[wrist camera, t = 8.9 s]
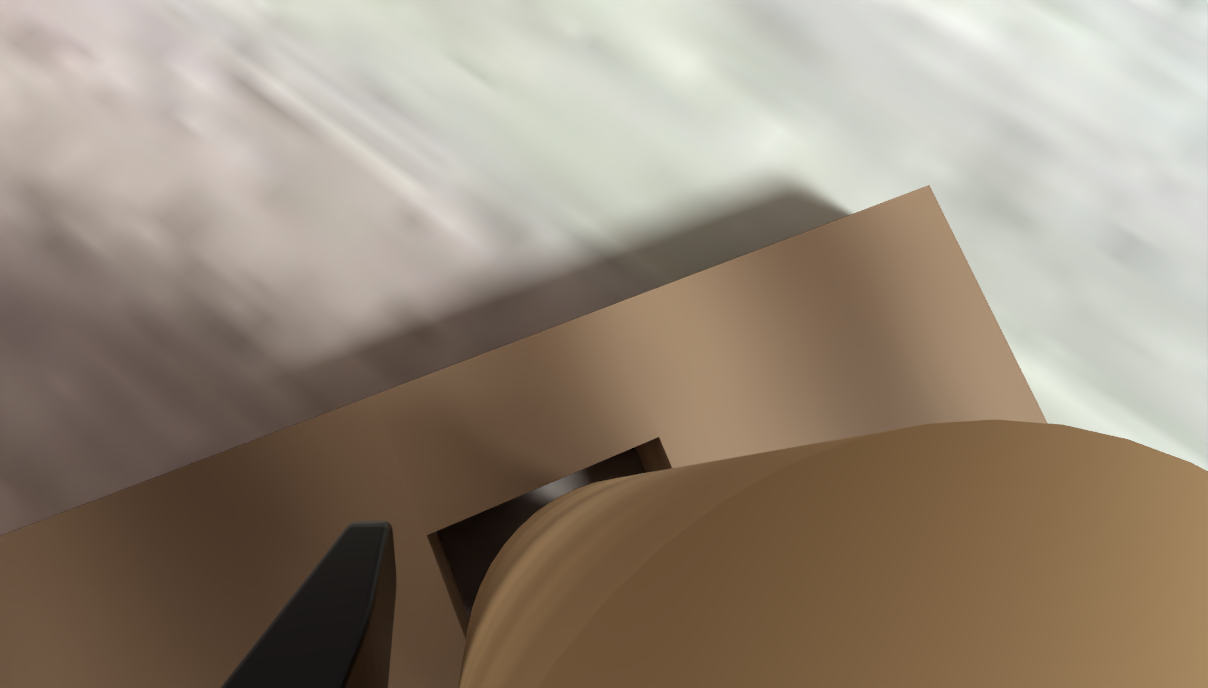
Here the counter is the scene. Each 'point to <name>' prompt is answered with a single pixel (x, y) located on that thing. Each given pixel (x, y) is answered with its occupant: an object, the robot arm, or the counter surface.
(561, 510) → the oak peg
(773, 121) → the counter surface
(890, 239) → the wooden flat block
